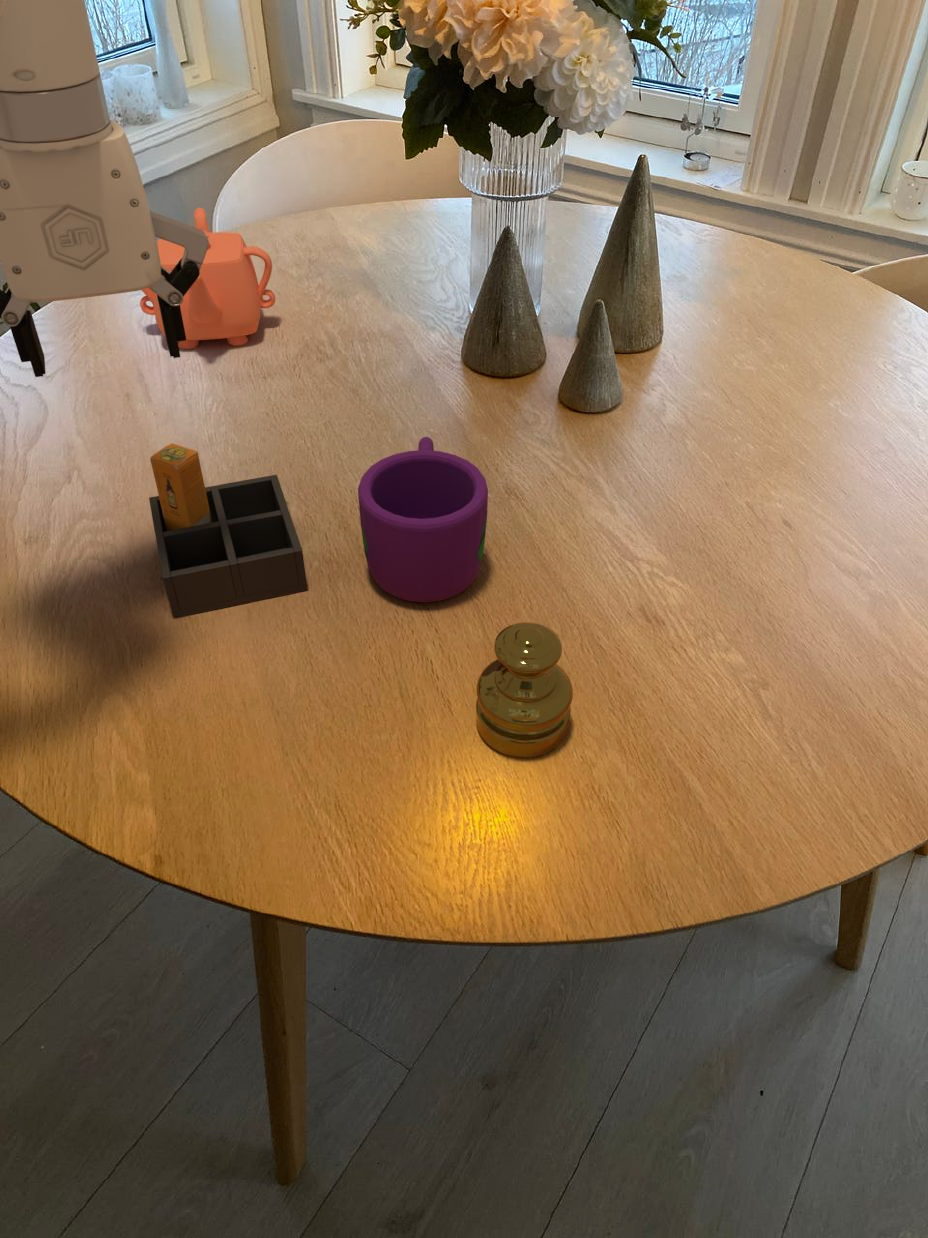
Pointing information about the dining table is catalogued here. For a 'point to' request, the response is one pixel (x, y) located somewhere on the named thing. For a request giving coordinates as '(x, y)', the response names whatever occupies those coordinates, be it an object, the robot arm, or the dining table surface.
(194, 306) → the teapot
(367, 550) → the mug
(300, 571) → the rack
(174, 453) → the supplement box
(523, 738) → the brass knobbed weight
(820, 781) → the dining table surface
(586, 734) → the dining table surface
